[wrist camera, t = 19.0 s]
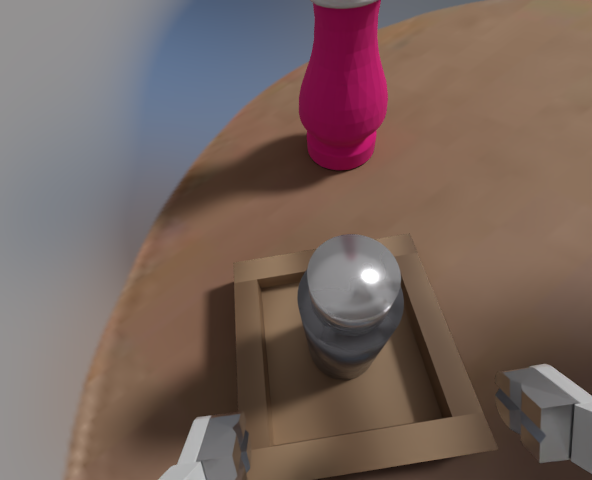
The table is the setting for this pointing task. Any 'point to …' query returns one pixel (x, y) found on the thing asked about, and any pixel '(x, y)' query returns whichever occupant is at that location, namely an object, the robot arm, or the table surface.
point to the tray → (348, 381)
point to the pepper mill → (343, 84)
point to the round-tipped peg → (349, 304)
